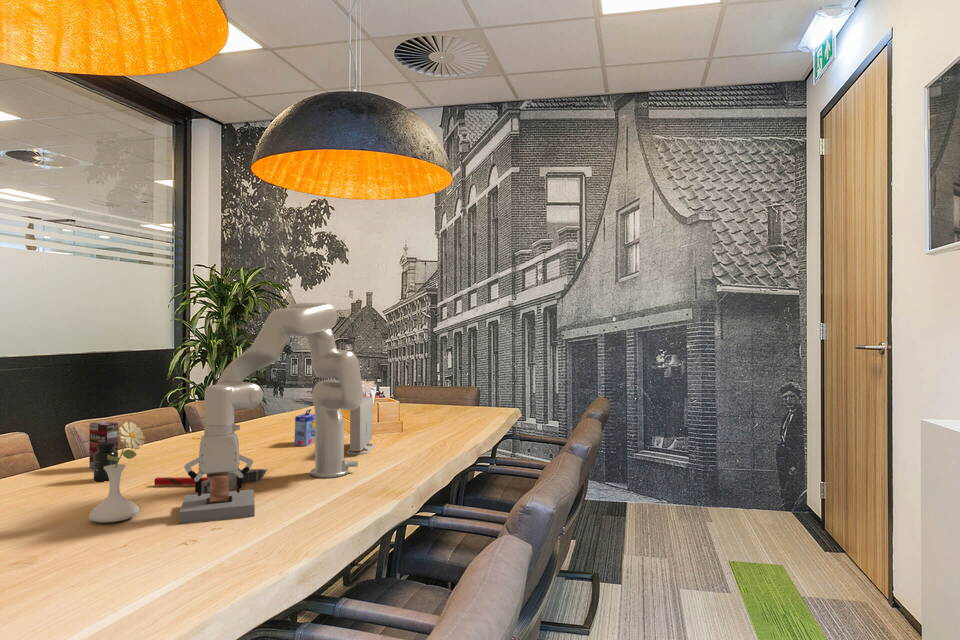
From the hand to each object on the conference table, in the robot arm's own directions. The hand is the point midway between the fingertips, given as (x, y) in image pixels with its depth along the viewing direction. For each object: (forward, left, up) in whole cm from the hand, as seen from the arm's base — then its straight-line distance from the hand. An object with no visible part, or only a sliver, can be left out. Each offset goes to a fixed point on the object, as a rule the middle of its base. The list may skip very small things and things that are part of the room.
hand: (219, 493), depth 169 cm
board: (0, 0, -5) cm, 5 cm away
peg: (0, 0, -5) cm, 5 cm away
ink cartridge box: (-30, -87, -5) cm, 92 cm away
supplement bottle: (+36, -48, -5) cm, 60 cm away
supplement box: (+40, -66, -5) cm, 77 cm away
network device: (-50, -68, -5) cm, 85 cm away
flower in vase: (+25, -2, -5) cm, 25 cm away
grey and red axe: (+4, -32, -6) cm, 33 cm away
